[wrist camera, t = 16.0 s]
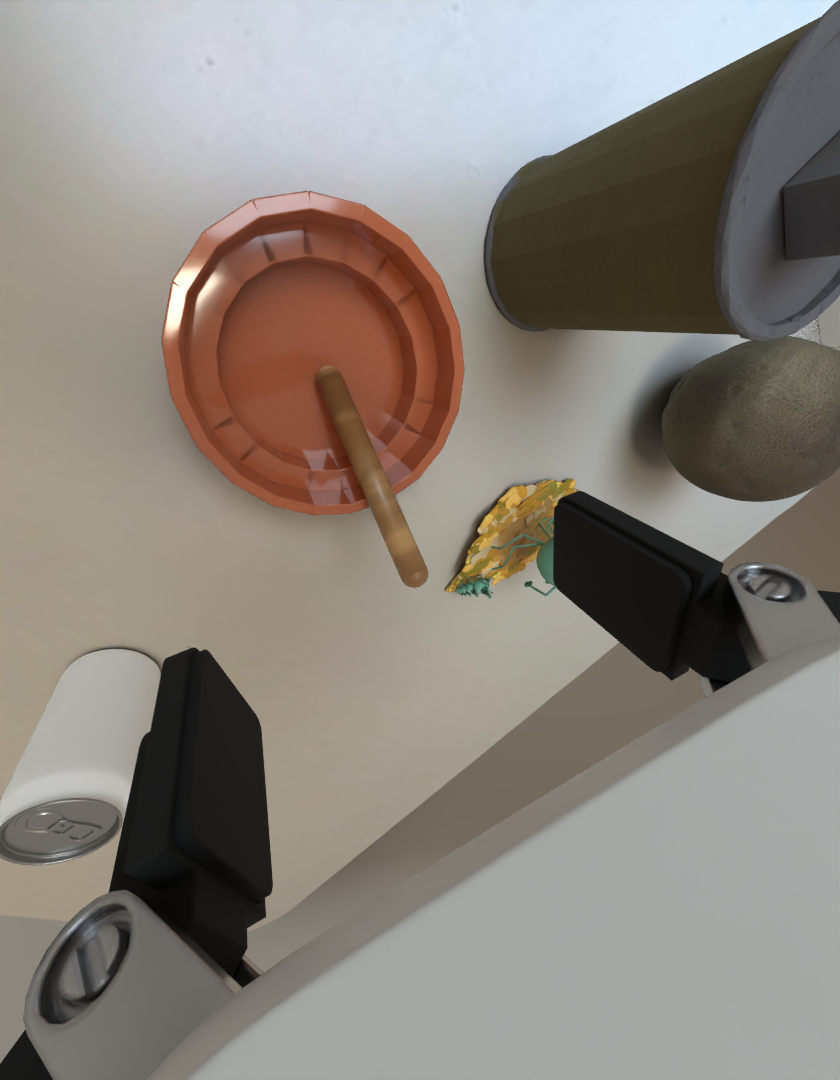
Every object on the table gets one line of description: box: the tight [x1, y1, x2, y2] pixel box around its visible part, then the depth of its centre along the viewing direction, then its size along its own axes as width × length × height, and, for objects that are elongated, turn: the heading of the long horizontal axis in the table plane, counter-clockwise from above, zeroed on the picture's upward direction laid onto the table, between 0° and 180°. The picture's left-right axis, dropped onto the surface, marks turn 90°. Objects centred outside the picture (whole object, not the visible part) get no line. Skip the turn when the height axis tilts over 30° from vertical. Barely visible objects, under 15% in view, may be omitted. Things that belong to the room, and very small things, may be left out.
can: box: [0, 649, 161, 865], centre depth 27 cm, size 6×6×12 cm
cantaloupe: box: [662, 336, 840, 502], centre depth 35 cm, size 14×14×15 cm
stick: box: [316, 366, 428, 588], centre depth 26 cm, size 2×2×16 cm
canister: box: [485, 0, 840, 342], centre depth 21 cm, size 11×10×20 cm
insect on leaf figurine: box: [446, 479, 579, 598], centre depth 35 cm, size 10×18×15 cm, turn 116°
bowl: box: [161, 191, 464, 515], centre depth 25 cm, size 16×16×6 cm
